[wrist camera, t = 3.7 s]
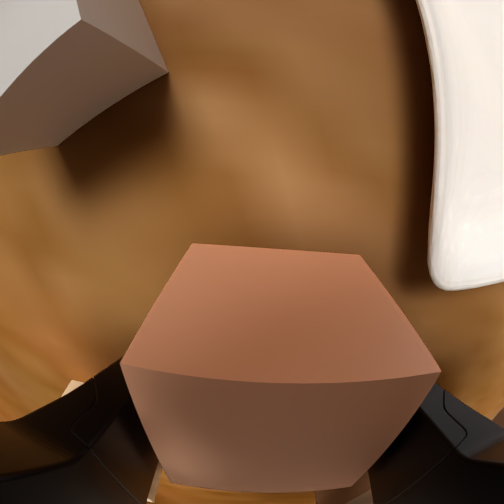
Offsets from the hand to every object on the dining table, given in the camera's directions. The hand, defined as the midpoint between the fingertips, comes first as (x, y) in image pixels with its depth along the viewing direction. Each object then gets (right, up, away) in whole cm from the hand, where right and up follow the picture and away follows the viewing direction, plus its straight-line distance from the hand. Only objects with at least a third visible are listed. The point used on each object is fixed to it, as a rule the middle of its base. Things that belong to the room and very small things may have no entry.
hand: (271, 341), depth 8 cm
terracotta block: (0, 0, +1) cm, 1 cm away
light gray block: (-6, +10, -1) cm, 12 cm away
